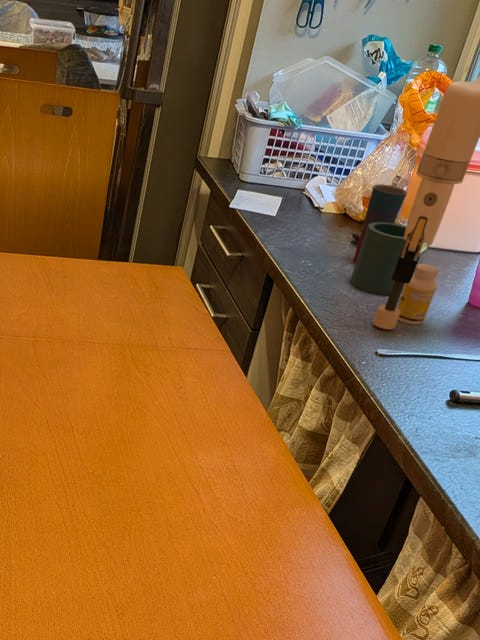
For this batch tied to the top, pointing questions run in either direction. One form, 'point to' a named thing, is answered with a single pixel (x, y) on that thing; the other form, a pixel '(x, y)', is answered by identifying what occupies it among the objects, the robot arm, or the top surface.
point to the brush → (389, 309)
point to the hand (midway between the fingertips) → (401, 278)
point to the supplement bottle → (418, 294)
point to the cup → (382, 208)
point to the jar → (378, 258)
